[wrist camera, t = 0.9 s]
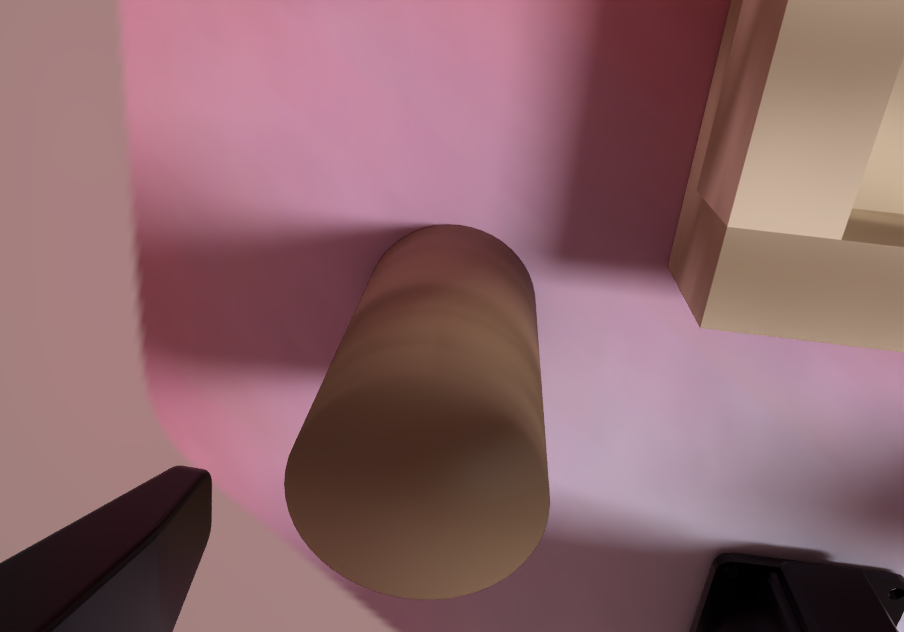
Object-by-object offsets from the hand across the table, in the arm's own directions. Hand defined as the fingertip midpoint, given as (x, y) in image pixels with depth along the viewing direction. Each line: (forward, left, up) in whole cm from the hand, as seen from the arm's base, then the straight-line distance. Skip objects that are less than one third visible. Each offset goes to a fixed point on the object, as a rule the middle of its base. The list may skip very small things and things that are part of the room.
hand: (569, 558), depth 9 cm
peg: (-3, +2, -13) cm, 14 cm away
